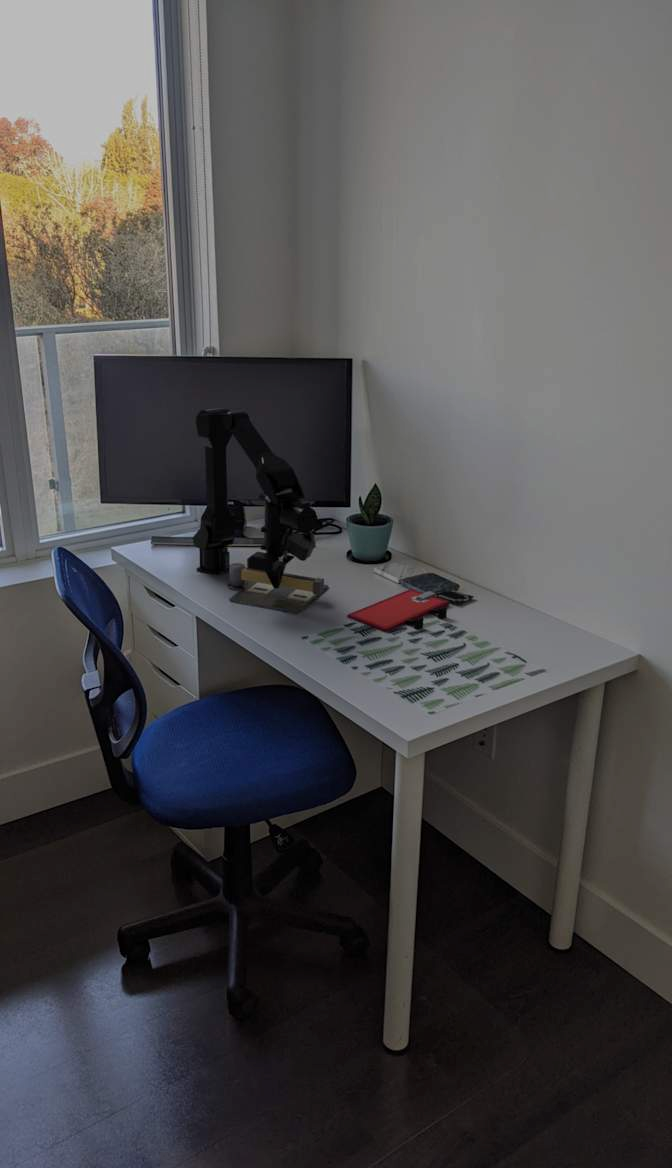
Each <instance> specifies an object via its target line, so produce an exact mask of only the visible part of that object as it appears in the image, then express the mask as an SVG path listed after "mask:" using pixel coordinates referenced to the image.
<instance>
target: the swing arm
mask: <svg viewBox="0 0 672 1168" xmlns="http://www.w3.org/2000/svg"><path fill="white" fill-rule="evenodd" d="M246 581H247V582H251V583H252V582H258V583H264V584H269V585H272V584H271V582H270V580H269V578H268V576H267V574H266V572H265V571H261V570H255V569H249V568H247V566H246V565H245V564H244V563H241V562H240V563H239V562H236V563H235V562H234V563H230V568H229V583H230V585H233V586H242V585H244V584H245V583H246ZM324 584H325V578H323V577H322V578H321V577H316V578H315V577H311V576H310V577H309V576H304V575H297V574H293V573H286V572H284V573H283V576H282V580H281V583H280V586H281V587H287V588H292V589H298V590H304V591H309V592H313V594H317V595H319V596H320V595H321V594H322V592H323V591H324ZM324 592H325V591H324Z"/></svg>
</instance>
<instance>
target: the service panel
mask: <svg viewBox="0 0 672 1168" xmlns="http://www.w3.org/2000/svg"><path fill="white" fill-rule="evenodd" d="M226 586H227V587H226V588H227V589H229V590H232V591H238V592H237V593H235V594H234V595H232V596H231V597H230V598H229V602H231V601H233V603H237V602H241V603H240V604H242V603H246V604H245V605H248V604H251V605H250V606H253V605H255V606H254V607H258V606H260V607H259V608H264V607H265V608H264V609H269V608H270V610H275V611H281V612H286V613H291V614H298V615H299V614H300V613H301V612H302V611H304V609H306V608H307V607H308V606H309V605H311V603H312V602H313V601H315V600H316V599H317V598H318V597H320V595H317V594H313V592H309V591H304V590H298V589H292V588H287V587H281V586H279V588H273V586H272V585H269V584H264V583H258V582H252V581H251V582H249V584H247V583H246V582H245V584H244V585H242V586H233V585H230V582H229V583H227V584H226ZM328 588H329V584H325V583H324V591H323V592H325V591H326V590H327V589H328ZM323 592H322V593H323ZM322 593H321V594H322Z"/></svg>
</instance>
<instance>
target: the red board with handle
mask: <svg viewBox="0 0 672 1168" xmlns="http://www.w3.org/2000/svg"><path fill="white" fill-rule="evenodd" d="M473 598H475V596H474V595H471V594H468V593H467V594H466V593H464V592H462V591H457V590H455V589H452V590H451V591H447V592H443V593H439V594H436V593H434V591H431V590H429V591H426V592H422V591H419V590H416V589H413V588H410V589H406V590H405V591H402V592H399V593H397V594H395V595H393V596H390V597H387V598H384V599H382V600H380V601H378V602H375V603H373V604H370V605H368V606H365V607H362V608H361V609H357V610H355V611H353V612H350V613H349V614H346V618H348V619H350V620H353V621H355V622H358V623H360V624H362V625H365V626H368V627H370V628H373V629H375V630H377V631H381V632H383V633H388V632H391V631H393V630H395V629H398V628H400V627H403V626H405V625H406V626H413V629H414V630H416V631H420V630H421V629H423V628H424V617H425V616H427V615H428V616H429V615H437V619H438V620H444V619H446V618H447V613H448V612H447V611H448V607H449V606H450V603H453V604H457V605H460V604H462V603H464V602H466V601H469V600H471V599H473Z"/></svg>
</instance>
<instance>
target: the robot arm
mask: <svg viewBox="0 0 672 1168" xmlns="http://www.w3.org/2000/svg"><path fill="white" fill-rule="evenodd" d="M195 426H196V433H197V436H198V438H199V440H200V441H201V443H202V445H203V446H204V456H205V458H204V459H205V480H206V481H205V485H206V506H205V509H204V511H203V513H202V515H201V517H200V526H199V529H198V531H196V532H195V534H194V535H193V537H192V541H193V546H194V547H195V548H197V549H199V550H198V551H199V566H198V567H196V571H197V572H203V573H207V574H208V573H209V574H215V575H221V574H222V573H224V572H226V571H227V570H228V569H229V570H230V565H231V563H230V559H231V558H230V557H231V556H230V551H229V547H228V546H230V545H234V543H235V542H234V540H235V537H236V534H237V531H238V529H239V528H238V524H237V522H238V520H237V519H238V518H237V514H236V513H233V512H232V510H231V509H230V507H229V501H228V500H229V498H228V494H229V493H228V466H227V463H228V462H227V460H228V459H227V457H228V456H227V447H228V444H229V443H230V441H231V439H232V437H234V439H235V440H236V441H237V443H238V444H239V445H240V447H241V449H242V450H243V451H244V453H245V455H246V456H247V458H249V460H250V462H251V463H252V465H253V466H254V468H255V479H256V481H257V482H258V484H259V486H260V488H261V490H262V493H261V494H260V495H258V499H259V500H261V501H264V525H263V526H261V527H260V532H261V533H263V535H264V536H263V543H262V544H260V550H262V551H263V552H262V551H256V552H255V553H253V554H251V555H250V556H249V557H248V558H247V559H246V567H247V568H249V569H255V570H261V571H265V572H266V574H267V576H268V578H269V580H270V582H271V584H272V586H273V588H279V586H280V583H281V580H282V576H283V573H285V570H286V566H287V564H289V563H290V562H291V561H292V560H293V559H294V558H297V560H299V561H302V562H304V561H306V560H307V559H309V558H310V557H311V555H312V553H313V551H314V549H315V548H317V545H316V544H317V543H316V541H315V540H316V539H315V538H316V537H315V534H314V533H312V531H314V529H315V528H316V526H317V523H318V515H317V512H316V511H315V510H314V509H313V508H312V507H311V502H310V501H306V500H305V501H304V500H303V499H305V494H304V492H303V488H302V485H301V484H300V481H299V479H298V477H297V474H296V471H295V469H294V468H293V467H292V466H291V465H290V464H289V462H287V461H286V460H285V459H283V458H282V457H279V456H278V455H276V454H275V453H273V451H272V450H271V448H270V447H269V445H268V444H267V442H266V441H265V440H264V438H263V437H262V436H261V434H260V433H259V432H258V430H257V429H256V427H255V426H254V425H253V423H252V422H251V420H250V416H249V413H248V412H246V411H243V410H238V411H237V410H236V411H235V410H234V411H230V410H229V409H228V408H227V407H218V408H217V407H216V408H208V409H201V410H200V411H199V412H198V413H197V414H196V416H195ZM290 491H291V492H290ZM295 531H296V532H298V533H301V534H297V533H296V532H295ZM303 534H304V535H303ZM264 551H265V552H264Z"/></svg>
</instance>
